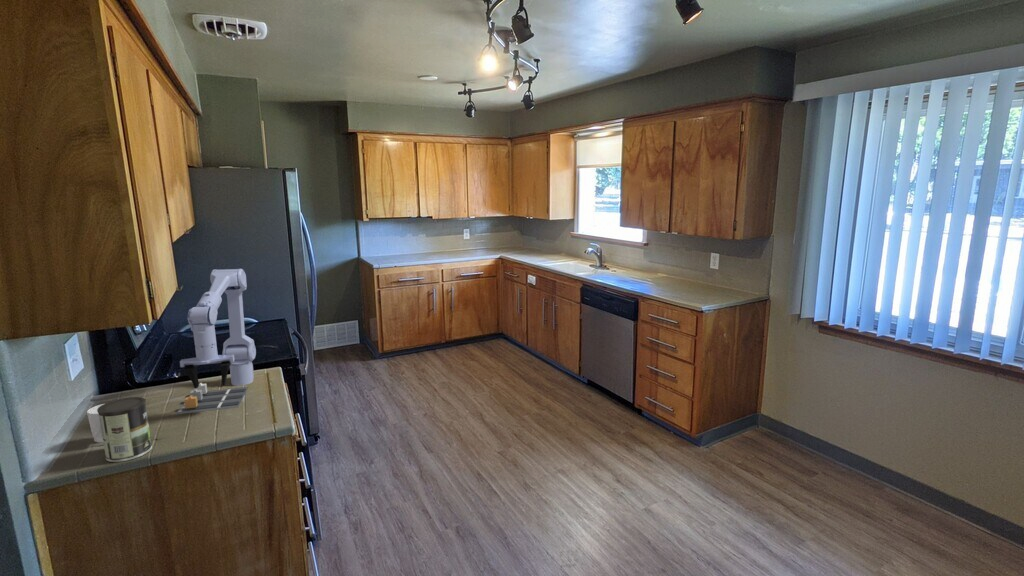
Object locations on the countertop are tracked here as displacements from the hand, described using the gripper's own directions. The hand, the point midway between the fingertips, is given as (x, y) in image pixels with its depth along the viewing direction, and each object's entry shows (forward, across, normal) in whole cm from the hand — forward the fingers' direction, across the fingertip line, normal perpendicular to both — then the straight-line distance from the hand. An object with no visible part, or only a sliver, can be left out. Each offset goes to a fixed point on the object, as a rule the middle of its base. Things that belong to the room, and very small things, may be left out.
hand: (210, 385), depth 157 cm
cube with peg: (+9, -7, +11) cm, 16 cm away
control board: (+10, -2, +11) cm, 15 cm away
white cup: (+10, -24, -9) cm, 28 cm away
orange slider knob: (+9, -7, +5) cm, 13 cm away
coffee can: (+10, -16, -19) cm, 27 cm away
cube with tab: (+9, -7, +17) cm, 21 cm away
